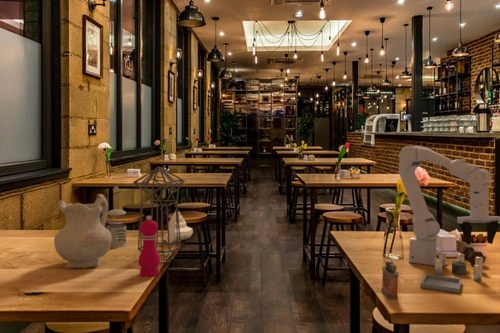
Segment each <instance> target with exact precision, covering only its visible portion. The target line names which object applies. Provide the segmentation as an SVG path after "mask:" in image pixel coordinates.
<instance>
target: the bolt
mask: <svg viewBox="0 0 500 333" xmlns="http://www.w3.org/2000/svg"><path fill="white" fill-rule="evenodd" d="M463 247H464V248H463V250H462V252H461V254H464V259H468V261H469V263H470V264H471V265H472V266H474V265H475V257H483V264H484V263H485V261H486V257H485V256H484V253H483V252H482V251H479V250H478V251H477V250H475V248H474V247H473V246H463Z"/></svg>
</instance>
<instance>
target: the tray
mask: <svg viewBox="0 0 500 333" xmlns="http://www.w3.org/2000/svg"><path fill="white" fill-rule="evenodd" d="M461 287H462V278H460V277H457V278H456V277H451V276H445V275H444V276H443V275H442V276H438V275H435V274H430V273H425V274H424V276H423V278H422V280H421V282H420V289H425V290H432V291H433V290H434V291H438V292H444V293H445V292H446V293H450V294H451V293H452V294H458V295H460V292H461V291H460V290H461Z"/></svg>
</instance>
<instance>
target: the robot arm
mask: <svg viewBox="0 0 500 333" xmlns="http://www.w3.org/2000/svg"><path fill="white" fill-rule="evenodd" d="M398 159H399V161H398V162H399V163H398V173H399V177H400V179H401V182H402V184H403V185H402V186H403V188H404V191H405V193H406V196H407V199H408V202H409V205H410V208H411V211H412V213H413V217H412V220H411V222H412V225H413V226H412V227H413V229H412V230H413V234H414V236H415V237H410V239H409V248H408V249H409V251H408V252H409V253H408V263H413V264H420V265H427V266H435V260H438V259H439V258H438V259H437V242H438V240H437V239H438V238H437V235H439V233H440V231H441V226H440V224H439V223H440V222H438V221H437V220H436V219H435V216H434V215H433V214H432V213H431V212H430V211H429V208H428V205H427V203H426V200H425V197H424V195H423V192H422V189H421V186H420V184H419V181H418V178H417V175H416V170H417V169H418V167H419V166H420V165H421V164H422V163H423V162H424V161H429V162H431V163H434V164H436V165H439V166H441V167H444V168H446V169H448V172H449V174H451V175H453V176H455V177H456V178H459V179H462V180H464V181H465V182H468V184H469V185H470V187H469V188H470V190H469V195H470V196H469V199H470V200H469V215H467V216H457V217H456V218H457V220H456V222H457V224H458V226H459V227H460V230H461V231H462V234H463V238H464V242H465V243H466V244H467V245H471V243H472V231H473V227H474V226H473V225H472V224H471V223H473V224H478V223H481V224H483V223H485V228H486V242H487V244H490V245H492V244H493V242H494V239H495V236H496V233H497V232H498V230H499V229H500V216H498V215H489V213H490V210H489V209H490V208H489V206H490V205H489V204H490V202H489V201H490V191H489V190H490V189H489V188H490V183H491V181H492V173H491V172H490V171H489V170H487V169H486V168H479V166H478V165H476V164H475V165H472V164H471V163H468V162H466V160H465V159H463V158H461V159H459V158H456V159H454V160H453V159H452V158H449V157H446V156H445V155H443V154H441V153H439V152H436V151H435V150H433V149H431V148H429V147H424V146H422V145H406V146H403V148H401V150H400V152H399V153H398Z"/></svg>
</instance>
